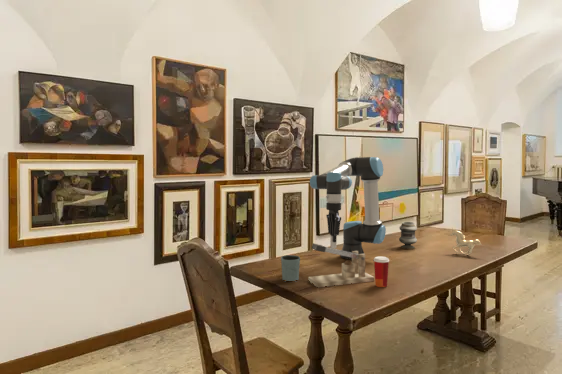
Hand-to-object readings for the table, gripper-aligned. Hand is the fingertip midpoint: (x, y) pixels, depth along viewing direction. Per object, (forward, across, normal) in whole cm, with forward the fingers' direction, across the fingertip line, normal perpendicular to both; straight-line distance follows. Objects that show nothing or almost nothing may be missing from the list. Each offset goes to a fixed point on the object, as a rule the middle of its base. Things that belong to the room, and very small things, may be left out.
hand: (333, 247), depth 205 cm
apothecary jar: (+16, -55, +85) cm, 102 cm away
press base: (+18, 0, +5) cm, 18 cm away
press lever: (+4, 0, +2) cm, 4 cm away
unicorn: (+16, -24, +106) cm, 110 cm away
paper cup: (+18, +14, +20) cm, 30 cm away
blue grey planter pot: (+18, -11, -19) cm, 29 cm away
